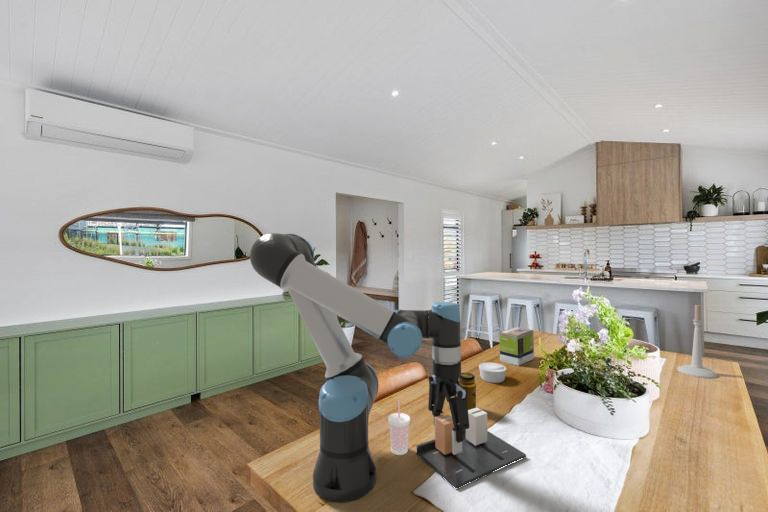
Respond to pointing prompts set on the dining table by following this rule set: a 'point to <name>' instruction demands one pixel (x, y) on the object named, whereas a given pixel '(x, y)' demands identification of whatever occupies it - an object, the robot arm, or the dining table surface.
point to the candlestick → (697, 352)
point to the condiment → (469, 388)
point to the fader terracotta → (444, 433)
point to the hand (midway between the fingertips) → (448, 445)
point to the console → (469, 459)
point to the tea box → (516, 345)
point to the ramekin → (492, 372)
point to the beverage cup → (399, 432)
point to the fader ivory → (477, 426)
